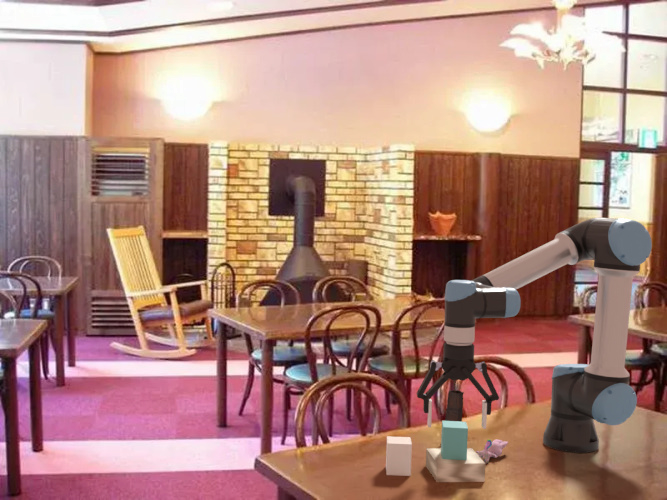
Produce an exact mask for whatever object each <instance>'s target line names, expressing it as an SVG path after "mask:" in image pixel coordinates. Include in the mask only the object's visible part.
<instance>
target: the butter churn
mask: <svg viewBox="0 0 667 500" xmlns="http://www.w3.org/2000/svg"><path fill="white" fill-rule="evenodd" d="M456 382H457V380H453V390H448V393H447V399H446V400H447V402H446V403H447V404H446V410H445V411H446V412H445V419H444V421H460V422H463V411H464V410H463V406H464V394H465V392H464V391H460V390H458V389H457V387H456V386H457V385H456Z"/></svg>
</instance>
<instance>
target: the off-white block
mask: <svg viewBox="0 0 667 500" xmlns="http://www.w3.org/2000/svg"><path fill="white" fill-rule="evenodd" d="M411 438H412V437H409V436H390V435H389V436H388V435H387V436H386V453H385V456H386V457H385V473H386V474H385V475H386V476H401V477H402V476H404V477H405V476H406V477H411V475H412V455H413V454H412V449H413V446H412V445H413V444H412V439H411Z"/></svg>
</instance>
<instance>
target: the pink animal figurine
mask: <svg viewBox="0 0 667 500" xmlns="http://www.w3.org/2000/svg"><path fill="white" fill-rule="evenodd" d="M508 444H509V441H505V440H504V441H503V440H502V439H497V438H496V439H494V440H493V441H492V440H491V439H490V438H488V439H487V441H486V443H485V445H484V449H482V450H476V451H475V452H476V453H477V455H478V456H479V457H480V458H481V459H482V460H483V461H484V462H485V464H488V463H489V461H490V458H493V459H496V458H498V457H500V456H501V455H502V454H503V453H502V452H503V449H504V448H505V447H507V445H508Z"/></svg>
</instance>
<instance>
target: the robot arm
mask: <svg viewBox="0 0 667 500" xmlns="http://www.w3.org/2000/svg"><path fill="white" fill-rule="evenodd" d="M652 247H653V245H652V237H651V234H650V232H649V230H648V229H647V228H646V227H645V226H644V224H643V223H641V222H639V221H637V220H633V219H629V218H617V217H616V218H613V217H592V218H588V219H586V220H583V221H581V222H579V223H576V224H574V225H573V226H570V227H568V228H566V229H564V230H562V231H560V232H558V233H557V234H555V237H554V239H553V240H550V241H549V242H546V243H545V244H542V245H541V246H538V247H537V248H534V249H533V250H531V251H528V252H526V253H525V254H523V255H521V256H519V257H517V258H514V259H512V260H510V261H509V262H506V263H504V264H503V265H500V266H498V267H496V268H495V269H492V270H491V271H489V272H487V273H485V274H482V275H480V276H478V277H476V278H474V279H471V280H468V279H452V280H449V281H448V282H446V283H445V291H444V330H443V331H444V332H443V333H444V334H443V340H444V343H443V356H442V362H440V361H435V360H434V359H431V361H430V363H429V369H428V371H427V372H426V374H425V376H424V379H423V380H422V382H421V384H420V385H419V388H418V389H417V391H416V397H417V398H418V399H421V400H422V401H423V405H422V406H423V408H422V411H423V412H424V414H427V421H426V422H427V423H426V424H427V427H428V428H432V419H433V418H432V413H433V411H432V410H433V400H432V397H433V396H434V395H435V394H436V393H437V392H438V391H439V390H440V388H441V387H442V386H443V385H444V384H445V383H446V382H447V381H448V380H452V381H454V380H456V381H457V380H459V381H464V382H465V381H466V380H469V382H470V383H471V384H472V385H473V386H474V387H475V388H476V389H477V391H478V392H479V393H480V395H481V396H482V398H484V400H483V399H482V403H481V405H482V406H481V428H482V429H483V430H486V429H487V418H488V417H487V416H490V415H491V414H492V402H495V401H499V399H500V396H499V394H498V391H497V390H496V388H495V386H494V384H493V381H492V379H491V377H490V375H489V373H488V365H487V363H486V362H485V361H483V360H482V361H481V362H475V345H474V342H475V341H476V340H475V338H476V337H475V336H476V335H475V333H476V331H475V330H476V319H492V318H493V319H495V318H496V319H497V318H498V319H499V318H502V319H507V318H512V317H515V316H517V315H518V313H519V312H520V310H521V301H522V300H521V296H520V293H519V291H518V289H520V288H523V287H524V286H526V285H528V284H530V283H532V282H534V281H536V280H537V279H540V278H542V277H544V276H546V275H549V273H552V272H553V271H556V270H558V269H560V268H562V267H564V266H566V265H571V266H572V265H573V266H575V265H576V264H578V263H580V262H583V261H591V260H593V269H594V270H595V271H596V273H597V274H598V280H597V293H596V302H595V313H594V325H593V335H592V343H591V345H592V346H591V354H590V355H591V356H590V363H589V364H586V363H561V364H557V365H555V366H554V367H553V369H552V376H551V397H550V398H551V402H550V403H551V405H550V417H549V420H548V422H547V424H546V427H545V430H544V431H543V434H542V435H543V436H542V438H543V439H542V443H543V445H545V446H547V447H549V448H550V449H553V450H557V451H562V452H566V453H574V454H575V453H578V454H579V453H581V454H582V453H585V454H586V453H593V452H596V451H598V449H599V443H600V440H599V437H598V433H597V428H596V425H595V422H594V421H596V422H598V423H600V424H605V425H608V426H619V425H621V424H623V423H625V422H626V421H627V420H628V419H629V418H630V417H632V415H634V412H635V410H636V407H637V403H638V397H637V394H636V391H635V390H634V388H633V387H632V386H631V385H630V372H629V371H628V370H627V369H626V366H625V365H626V356H627V355H626V354H627V343H628V333H629V324H630V315H631V314H630V311H631V303H632V302H631V301H632V292H633V281H634V277H635V276H636V275H638V274H639V273H640V271H641V264H644V263H645V262H646V261H647V259H648V258H650V255H651V252H652ZM440 368H442V371H444V372H443V373H442V374H441V375H440V377H438V379H437V380H436V381H435V382H434V383H433V384H432V386H430V387H429V389H428V390H427V388H428V386H429V384H430V383H431V381H432V379H433V377H434V375H435V373H436V371H438V370H439V369H440ZM476 369H477V370H478V372H481V374H482V376H483V379H484V381H485V382H486V383H485V384H486V385H487V387H488V389H489V391H490V395H489V393H488V392H486V390H485V389H484V387H483V386H482V385H481V384H480V383H479V381H478V380H477V379H476V378H475V376H474V375H473V372H474V371H475V370H476ZM426 390H427V391H426Z"/></svg>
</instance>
